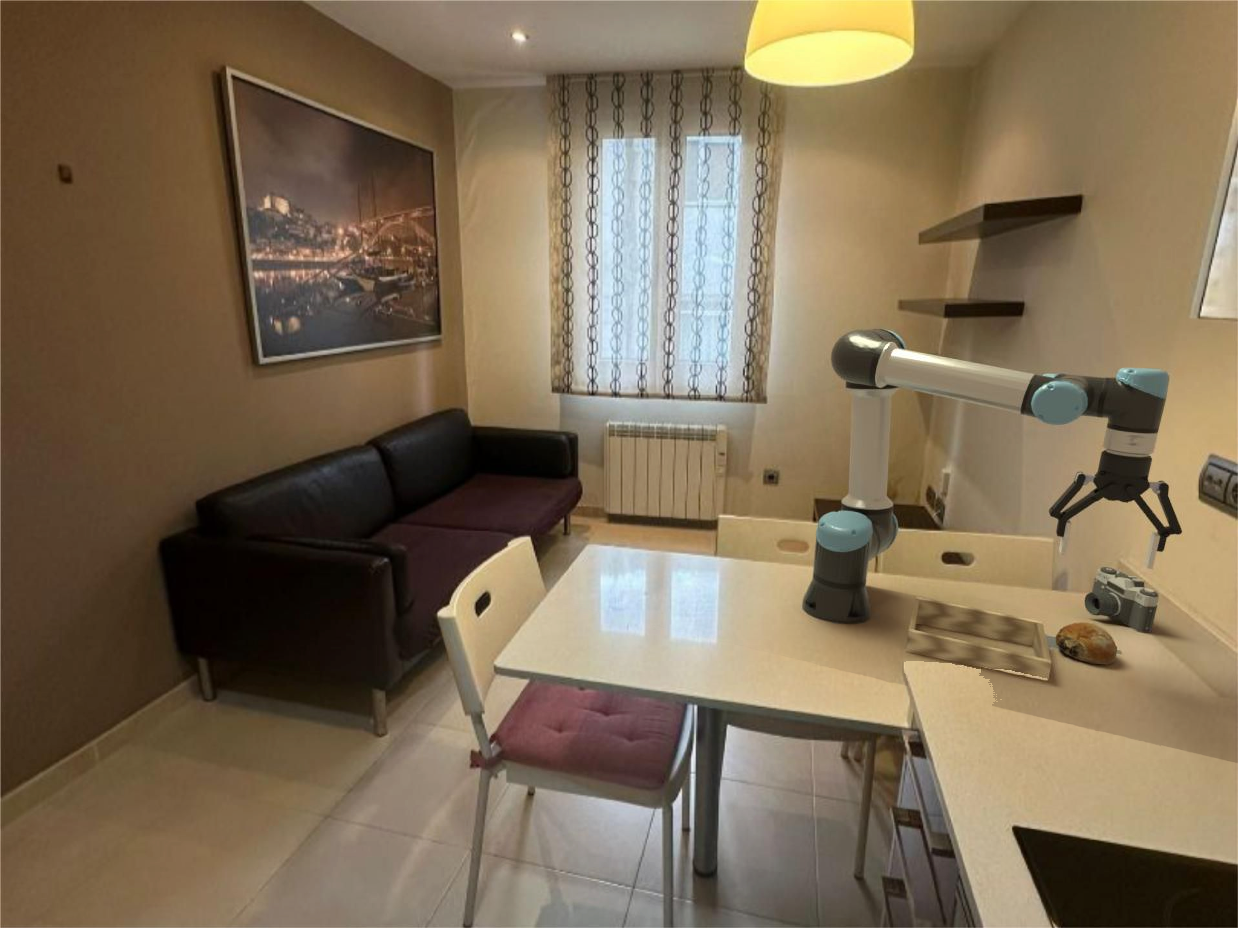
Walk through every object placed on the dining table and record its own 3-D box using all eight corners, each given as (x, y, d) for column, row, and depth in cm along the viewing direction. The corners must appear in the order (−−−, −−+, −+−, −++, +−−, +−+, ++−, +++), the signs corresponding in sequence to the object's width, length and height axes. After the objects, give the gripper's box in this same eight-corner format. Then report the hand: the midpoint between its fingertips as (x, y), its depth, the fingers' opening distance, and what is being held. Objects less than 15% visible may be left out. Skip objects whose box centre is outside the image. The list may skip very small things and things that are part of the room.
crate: (904, 657, 129) (908, 630, 127) (911, 620, 144) (915, 596, 143) (1046, 692, 118) (1051, 662, 116) (1037, 647, 133) (1042, 621, 132)
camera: (1063, 600, 155) (1071, 562, 153) (1105, 601, 155) (1113, 563, 153) (1111, 632, 140) (1120, 590, 138) (1157, 633, 140) (1167, 591, 138)
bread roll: (1108, 685, 125) (1139, 656, 122) (1062, 656, 125) (1092, 626, 123) (1084, 658, 134) (1112, 630, 131) (1041, 631, 135) (1069, 603, 132)
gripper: (1049, 448, 121) (1030, 553, 126) (1221, 465, 110) (1192, 579, 115) (1045, 441, 127) (1027, 541, 133) (1207, 456, 116) (1181, 565, 121)
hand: (1104, 559), depth 124 cm, fingers open, 13 cm apart
